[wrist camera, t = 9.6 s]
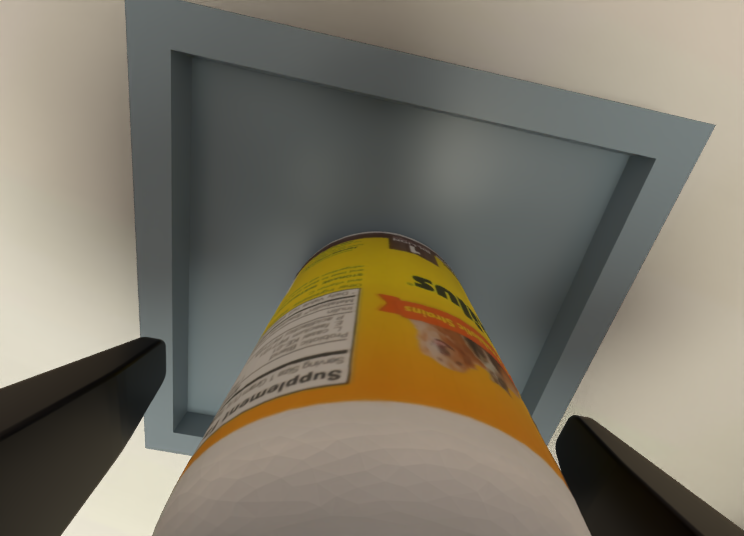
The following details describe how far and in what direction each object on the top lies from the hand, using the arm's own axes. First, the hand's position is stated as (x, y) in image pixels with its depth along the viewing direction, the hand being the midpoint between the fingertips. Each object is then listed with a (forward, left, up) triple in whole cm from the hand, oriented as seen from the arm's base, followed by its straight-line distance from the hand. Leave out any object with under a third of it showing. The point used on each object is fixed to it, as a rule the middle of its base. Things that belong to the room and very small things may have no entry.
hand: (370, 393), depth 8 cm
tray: (0, 0, -5) cm, 5 cm away
